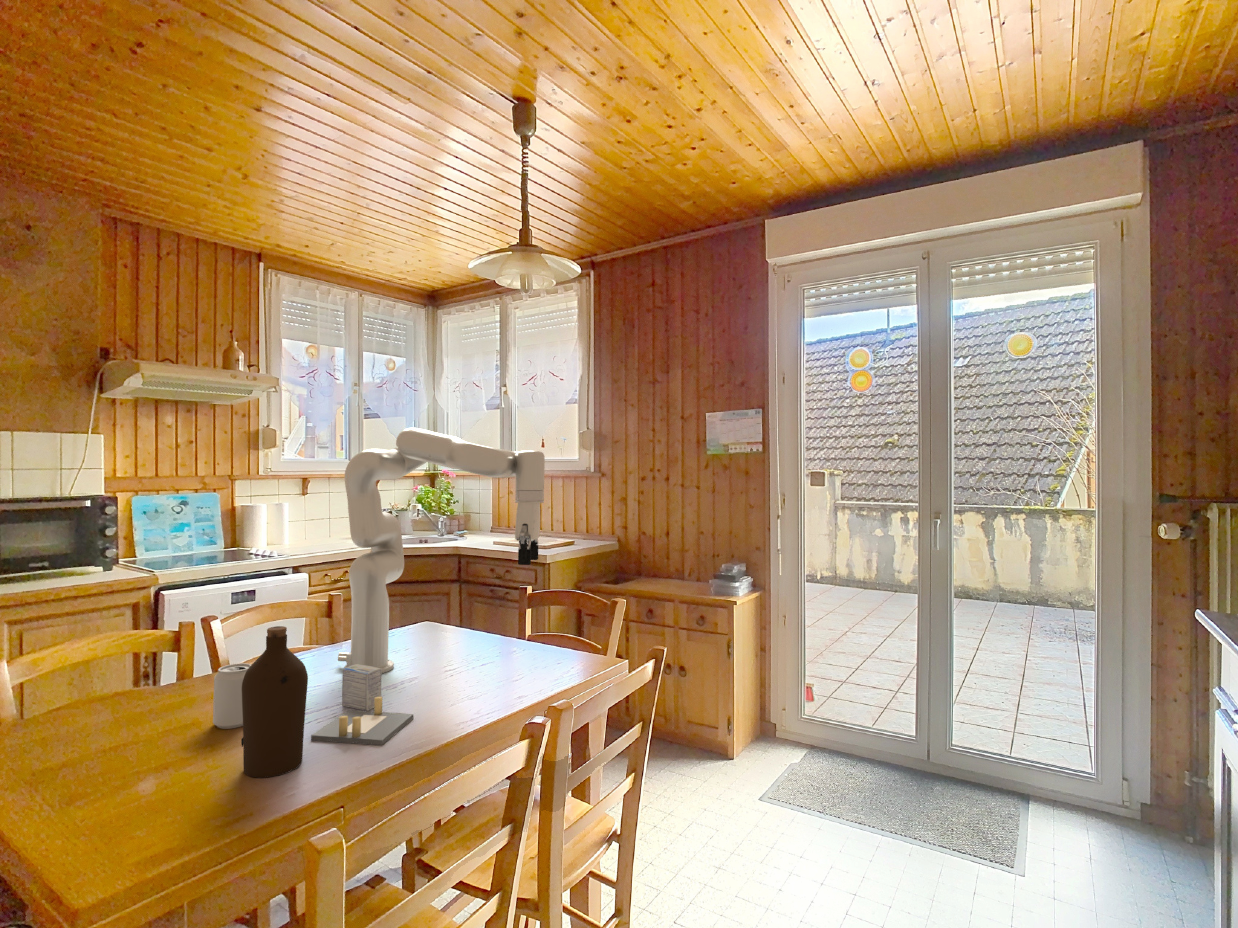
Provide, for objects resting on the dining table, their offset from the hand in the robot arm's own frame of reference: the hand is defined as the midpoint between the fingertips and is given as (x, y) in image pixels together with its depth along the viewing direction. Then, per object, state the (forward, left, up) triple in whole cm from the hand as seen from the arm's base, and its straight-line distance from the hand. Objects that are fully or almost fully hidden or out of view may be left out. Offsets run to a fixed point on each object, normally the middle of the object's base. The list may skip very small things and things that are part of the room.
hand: (528, 562), depth 169 cm
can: (-53, -39, -31) cm, 73 cm away
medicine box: (-32, -25, -31) cm, 51 cm away
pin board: (-24, -38, -31) cm, 54 cm away
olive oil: (-32, -56, -31) cm, 72 cm away
